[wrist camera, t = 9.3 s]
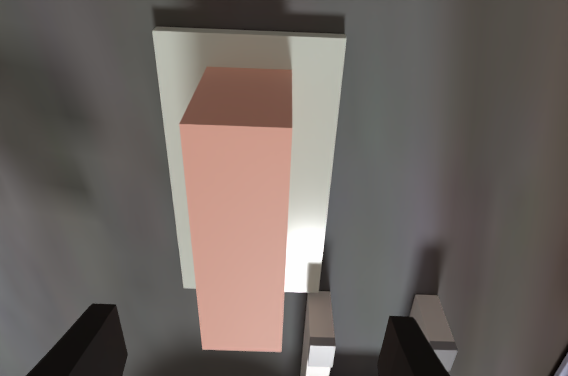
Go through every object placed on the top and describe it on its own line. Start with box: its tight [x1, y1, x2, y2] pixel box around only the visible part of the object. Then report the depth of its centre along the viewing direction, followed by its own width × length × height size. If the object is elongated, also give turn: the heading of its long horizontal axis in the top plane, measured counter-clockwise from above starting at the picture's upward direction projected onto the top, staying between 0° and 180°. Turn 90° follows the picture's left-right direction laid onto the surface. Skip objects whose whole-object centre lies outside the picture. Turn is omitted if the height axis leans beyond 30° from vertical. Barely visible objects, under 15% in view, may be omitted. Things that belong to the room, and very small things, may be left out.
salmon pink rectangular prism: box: [179, 67, 292, 352], centre depth 18 cm, size 3×10×5 cm, turn 178°
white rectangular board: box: [152, 27, 346, 293], centre depth 20 cm, size 7×13×1 cm, turn 178°
